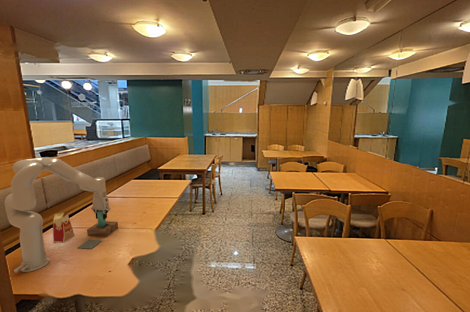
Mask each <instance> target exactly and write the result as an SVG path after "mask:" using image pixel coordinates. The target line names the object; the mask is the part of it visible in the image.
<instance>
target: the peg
mask: <svg viewBox="0 0 470 312" xmlns="http://www.w3.org/2000/svg"><path fill="white" fill-rule="evenodd" d="M103 214H104V213H103V210H99V211H97V218H98V219H97V223H98V228H104V227H106V221H107V220H106V219H107V218H106V219H103Z"/></svg>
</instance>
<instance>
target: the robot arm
mask: <svg viewBox="0 0 470 312" xmlns="http://www.w3.org/2000/svg"><path fill="white" fill-rule="evenodd" d="M12 165H13V166H12V171H13V172H14V173H15V175H13V177H12V179H11V183H10V190H11V193H9V194H7V195H6V197H5V199H4V208H5V209H4V210H5V211H6V212H5V213H6V215H7V216H6V217H7V220H8V222H9V224H10V225H12V226H13V227H16V228H19V243H20V251H21V256H22V261H21V262H20V265H19V266H17V267H16V268H14V269H13V272H14V273H18V272H19V271H20V272H22V273H29V272H34V271H37V270H40V269H41V268H44V267H45V266H47V265H48V264H49V263H50V261H51V259H50V257H49V256H46V247H45V240H44V235H43V223H44V221H43V220H44V218H43V217H42V215H41V214H40V213H38V212H35V211H31V210H33V209H34V208H35V207H36V204H37V199H36V194H35V190H34V181H35V180H36V178H37V177H38V176H39V175H41V174H42V173H43V172H50V173H52V174H53V175H55V176H58V177H59V178H61V179H63V180H64V181H67V182H69V183H73V184H76V185H78V187H79V189H80V190H83V191H86V192H92V193H93V198H92V207H91V210H92V211H93V213H94V214H95V219H96V220H98V218H97V211H99V210H103V213H104V214H103V219H107V218H108V214H109V213H108V212H110V211H111V210H112V208H111V207H110V202H109V198H108V197H109V196H108V193H107V189H106V186H107V185H106V178H105V177H103V176H101V177H95V178H94V177H93V176H90V175H89V174H86V173H84V172H82V171H80V170H78V169H77V168H75V167H73V166H71V165H69V164H68V163H67V162H65V161H63V160H62V159H60V158H58V157H51V156H50V157H49V156H45V157H44V156H43V157H35V158H27V159H21V160H17V161H16V162H15V163H14V164H12Z"/></svg>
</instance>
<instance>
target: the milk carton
mask: <svg viewBox="0 0 470 312" xmlns="http://www.w3.org/2000/svg"><path fill="white" fill-rule="evenodd" d="M53 215H54V217H53V222H52V223H53V224H52V238H53V241H52V242H53V243H61V244H65V243H66V242H68V241H70V240H72V239H73V238H75V237H76V235H75V231H74V229H73V225H72V223H71V220H70V217H69V214H67V213H65V212H59V213H54V214H53Z"/></svg>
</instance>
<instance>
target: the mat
mask: <svg viewBox="0 0 470 312" xmlns="http://www.w3.org/2000/svg"><path fill="white" fill-rule="evenodd" d="M100 243H103V240H102V239H87V240H86V241H84V242H83V243H81V244H80V245H79V246H77V247H76V248H77V249H80V250H81V249H82V250H93V249H94V248H95V247H96V246H98V245H99V244H100Z"/></svg>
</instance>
